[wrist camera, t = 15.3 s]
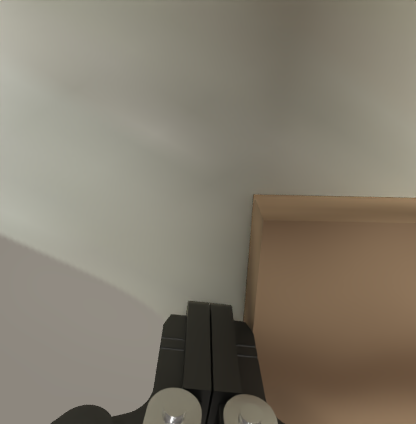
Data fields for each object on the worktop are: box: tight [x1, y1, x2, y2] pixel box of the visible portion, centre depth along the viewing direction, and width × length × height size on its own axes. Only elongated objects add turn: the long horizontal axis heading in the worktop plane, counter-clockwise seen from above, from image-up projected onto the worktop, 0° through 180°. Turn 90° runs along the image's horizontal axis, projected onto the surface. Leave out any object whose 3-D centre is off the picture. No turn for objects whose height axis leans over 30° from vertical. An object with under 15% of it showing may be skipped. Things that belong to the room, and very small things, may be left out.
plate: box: [243, 194, 416, 424], centre depth 13 cm, size 10×10×2 cm
